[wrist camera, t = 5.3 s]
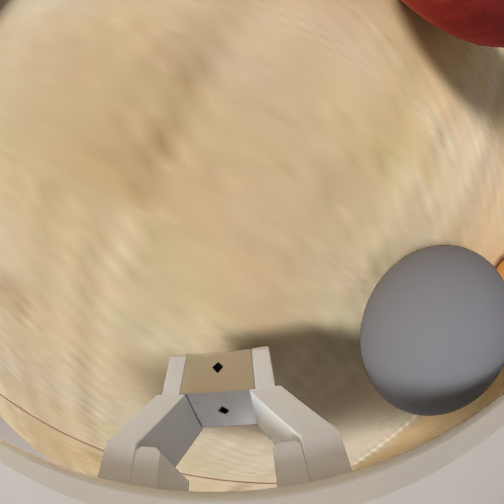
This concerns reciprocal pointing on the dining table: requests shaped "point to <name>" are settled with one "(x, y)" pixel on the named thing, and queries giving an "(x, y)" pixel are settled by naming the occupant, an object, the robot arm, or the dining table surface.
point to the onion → (465, 18)
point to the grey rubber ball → (435, 330)
